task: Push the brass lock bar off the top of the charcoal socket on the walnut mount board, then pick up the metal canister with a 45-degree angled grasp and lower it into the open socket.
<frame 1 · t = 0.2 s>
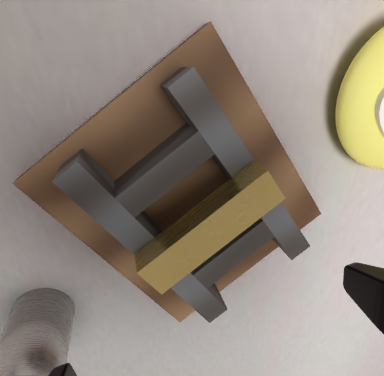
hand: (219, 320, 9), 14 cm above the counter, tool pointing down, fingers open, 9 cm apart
metal canister: (44, 311, 23), on the counter
lock bar: (207, 227, 18), point 5 cm above the counter, slide at 0.0 cm
mount: (189, 196, 23), on the counter
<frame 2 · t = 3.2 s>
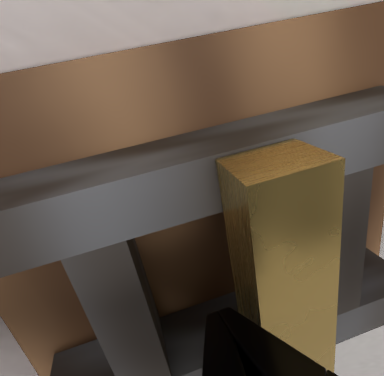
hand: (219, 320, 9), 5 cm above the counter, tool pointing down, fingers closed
lock bar: (282, 301, 9), point 5 cm above the counter, slide at 0.9 cm, touching gripper
mount: (208, 232, 13), on the counter
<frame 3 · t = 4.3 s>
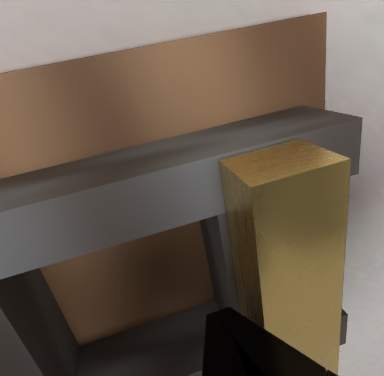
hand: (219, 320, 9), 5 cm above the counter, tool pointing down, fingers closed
lock bar: (285, 303, 9), point 5 cm above the counter, slide at 4.7 cm, touching gripper
mount: (130, 257, 13), on the counter
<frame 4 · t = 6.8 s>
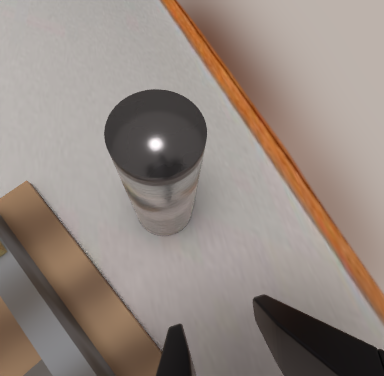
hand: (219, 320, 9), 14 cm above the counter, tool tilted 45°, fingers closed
metal canister: (164, 208, 24), on the counter
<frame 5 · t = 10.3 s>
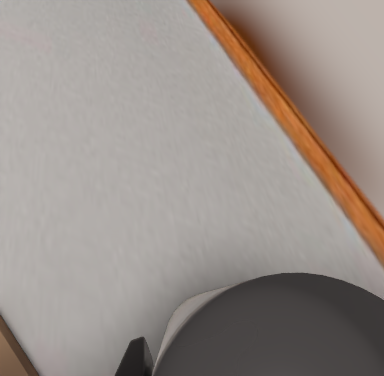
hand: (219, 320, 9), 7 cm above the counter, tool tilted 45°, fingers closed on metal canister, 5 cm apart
metal canister: (210, 341, 15), on the counter, touching gripper
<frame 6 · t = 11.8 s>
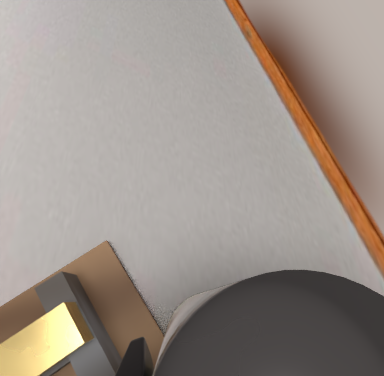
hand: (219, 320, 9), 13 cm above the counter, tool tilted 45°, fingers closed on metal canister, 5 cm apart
metal canister: (210, 340, 15), point 7 cm above the counter, touching gripper
when the fingers open (9 cm above the counter, at t = 13.6 s): metal canister drops 2 cm, resting on mount.
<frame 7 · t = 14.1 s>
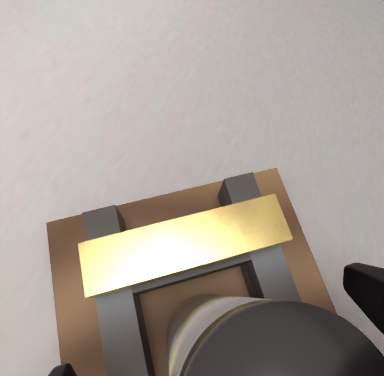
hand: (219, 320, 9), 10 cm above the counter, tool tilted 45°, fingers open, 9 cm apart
metal canister: (206, 336, 17), point 1 cm above the counter, touching mount
lock bar: (187, 244, 15), point 5 cm above the counter, slide at 4.7 cm
mount: (204, 334, 17), on the counter
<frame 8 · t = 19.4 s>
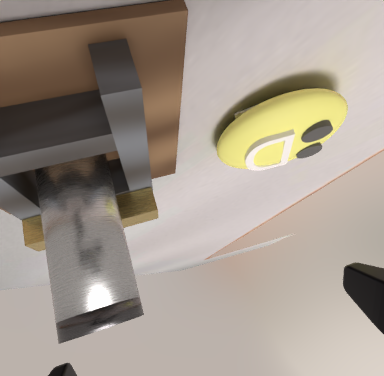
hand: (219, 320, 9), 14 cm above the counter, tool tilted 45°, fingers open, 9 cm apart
metal canister: (69, 146, 20), point 1 cm above the counter, touching mount
lock bar: (95, 218, 23), point 5 cm above the counter, slide at 4.7 cm
mount: (67, 137, 20), on the counter
emoji: (270, 116, 28), on the counter
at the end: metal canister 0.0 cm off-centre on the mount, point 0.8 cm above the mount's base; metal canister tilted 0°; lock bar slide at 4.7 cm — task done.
